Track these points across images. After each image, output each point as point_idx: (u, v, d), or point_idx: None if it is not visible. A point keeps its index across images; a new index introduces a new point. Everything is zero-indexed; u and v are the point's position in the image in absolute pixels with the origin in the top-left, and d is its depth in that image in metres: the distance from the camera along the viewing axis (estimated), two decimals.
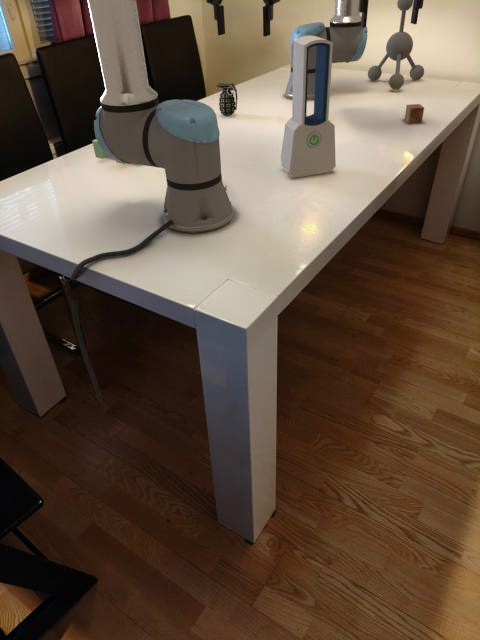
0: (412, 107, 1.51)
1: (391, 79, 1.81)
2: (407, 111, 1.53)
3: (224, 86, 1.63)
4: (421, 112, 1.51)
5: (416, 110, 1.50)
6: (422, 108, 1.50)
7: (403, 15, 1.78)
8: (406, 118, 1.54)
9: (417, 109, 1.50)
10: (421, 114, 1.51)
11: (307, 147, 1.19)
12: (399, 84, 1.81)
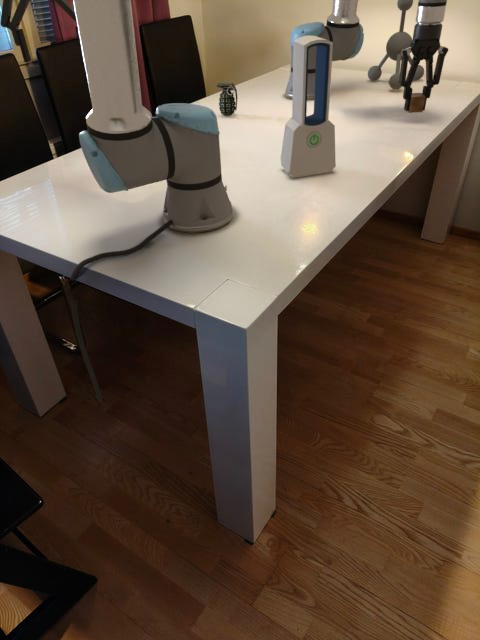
0: (413, 96, 1.49)
1: (391, 79, 1.81)
2: None
3: (224, 86, 1.63)
4: (422, 101, 1.49)
5: (417, 99, 1.49)
6: (423, 97, 1.48)
7: (403, 15, 1.78)
8: None
9: (418, 98, 1.48)
10: (422, 103, 1.49)
11: (307, 147, 1.19)
12: None
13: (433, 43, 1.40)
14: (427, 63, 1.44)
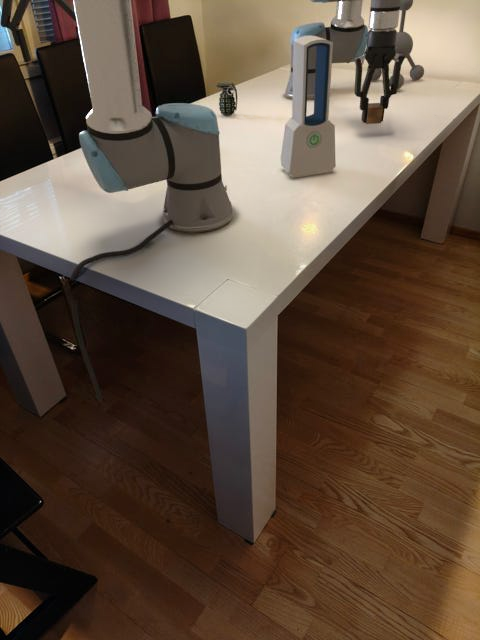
0: (370, 106, 1.40)
1: (391, 79, 1.81)
2: None
3: (224, 86, 1.63)
4: (380, 111, 1.40)
5: (374, 109, 1.39)
6: (381, 107, 1.39)
7: (403, 15, 1.78)
8: None
9: (375, 108, 1.39)
10: (380, 114, 1.40)
11: (307, 147, 1.19)
12: (399, 84, 1.81)
13: (388, 50, 1.31)
14: (383, 72, 1.35)
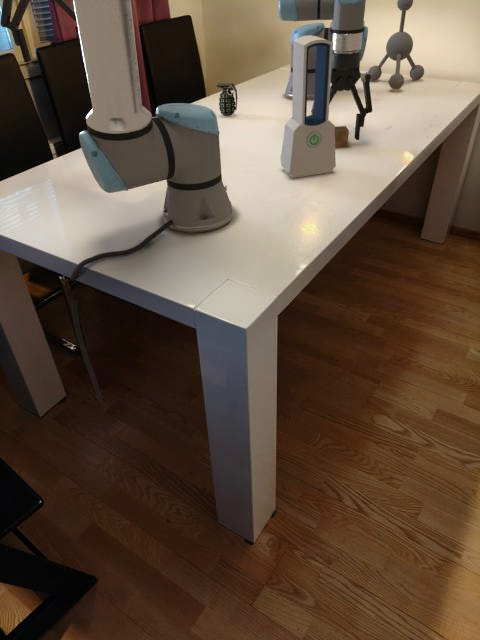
0: (336, 130, 1.37)
1: (391, 79, 1.81)
2: None
3: (224, 86, 1.63)
4: (346, 135, 1.37)
5: (340, 133, 1.36)
6: (347, 131, 1.36)
7: (403, 15, 1.78)
8: None
9: (341, 132, 1.36)
10: (346, 137, 1.37)
11: (307, 147, 1.19)
12: (399, 84, 1.81)
13: (352, 73, 1.28)
14: (352, 93, 1.31)
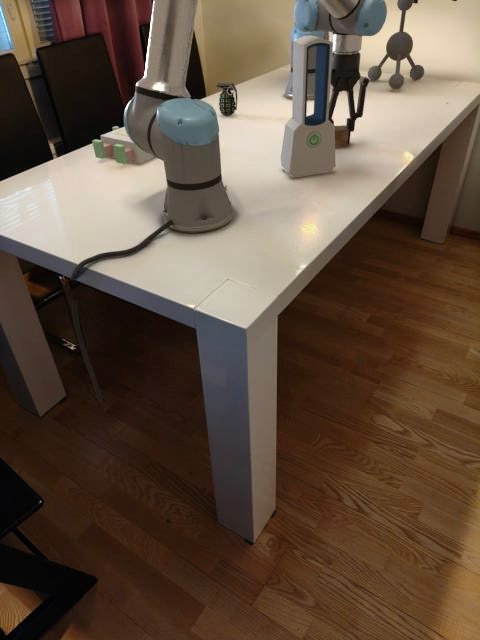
0: (336, 129, 1.36)
1: (391, 79, 1.81)
2: None
3: (224, 86, 1.63)
4: (346, 135, 1.36)
5: (340, 132, 1.36)
6: (346, 130, 1.36)
7: (403, 15, 1.78)
8: None
9: (341, 131, 1.36)
10: (346, 137, 1.37)
11: (307, 147, 1.19)
12: (399, 84, 1.81)
13: None
14: None
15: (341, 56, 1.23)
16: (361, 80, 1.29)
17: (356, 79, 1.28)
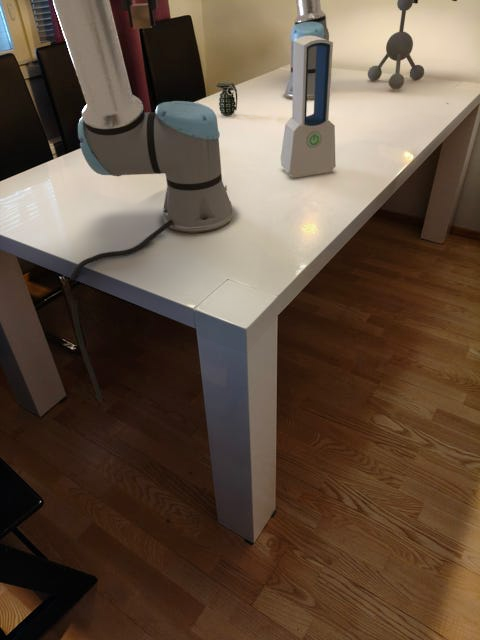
0: (134, 5, 1.13)
1: (391, 79, 1.81)
2: None
3: (224, 86, 1.63)
4: (146, 12, 1.13)
5: (138, 9, 1.13)
6: (146, 6, 1.13)
7: (403, 15, 1.78)
8: None
9: (139, 7, 1.13)
10: (147, 15, 1.14)
11: (307, 147, 1.19)
12: (399, 84, 1.81)
13: None
14: None
15: None
16: None
17: None
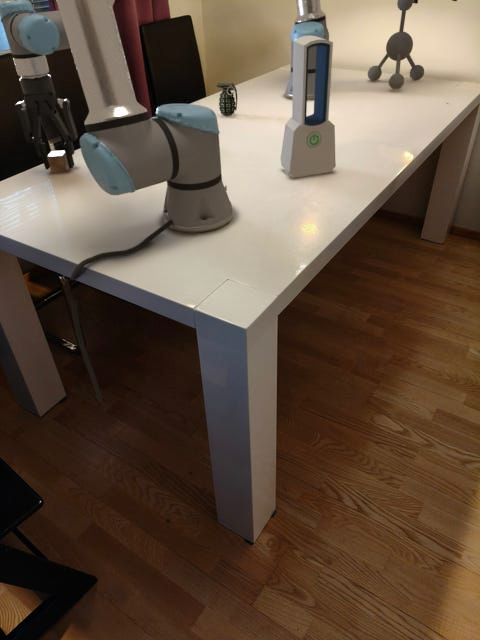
0: (51, 155, 1.31)
1: (391, 79, 1.81)
2: None
3: (224, 86, 1.63)
4: (61, 161, 1.31)
5: (54, 158, 1.31)
6: (60, 156, 1.31)
7: (403, 15, 1.78)
8: None
9: (55, 157, 1.31)
10: (62, 163, 1.32)
11: (307, 147, 1.19)
12: (399, 84, 1.81)
13: None
14: None
15: (24, 80, 1.18)
16: (60, 103, 1.24)
17: (53, 103, 1.23)
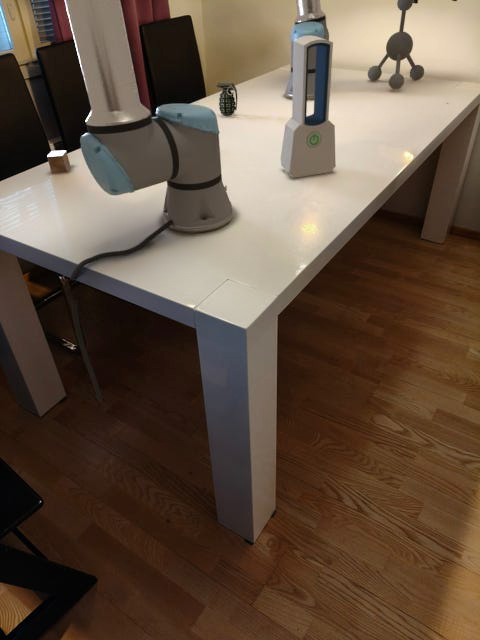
0: (51, 155, 1.31)
1: (391, 79, 1.81)
2: None
3: (224, 86, 1.63)
4: (61, 161, 1.31)
5: (54, 158, 1.31)
6: (60, 156, 1.31)
7: (403, 15, 1.78)
8: None
9: (55, 157, 1.31)
10: (62, 163, 1.32)
11: (307, 147, 1.19)
12: (399, 84, 1.81)
13: None
14: None
15: None
16: None
17: None
